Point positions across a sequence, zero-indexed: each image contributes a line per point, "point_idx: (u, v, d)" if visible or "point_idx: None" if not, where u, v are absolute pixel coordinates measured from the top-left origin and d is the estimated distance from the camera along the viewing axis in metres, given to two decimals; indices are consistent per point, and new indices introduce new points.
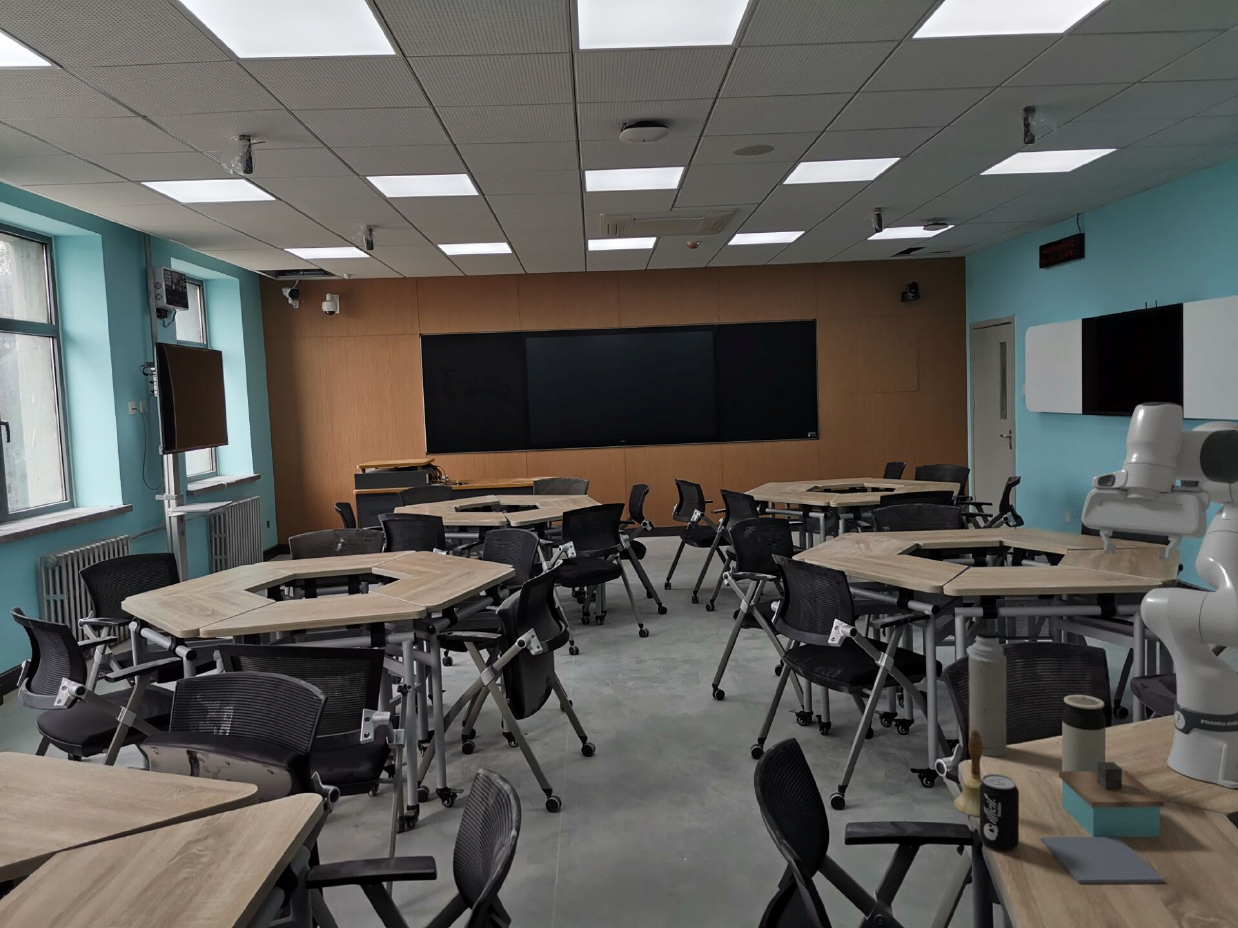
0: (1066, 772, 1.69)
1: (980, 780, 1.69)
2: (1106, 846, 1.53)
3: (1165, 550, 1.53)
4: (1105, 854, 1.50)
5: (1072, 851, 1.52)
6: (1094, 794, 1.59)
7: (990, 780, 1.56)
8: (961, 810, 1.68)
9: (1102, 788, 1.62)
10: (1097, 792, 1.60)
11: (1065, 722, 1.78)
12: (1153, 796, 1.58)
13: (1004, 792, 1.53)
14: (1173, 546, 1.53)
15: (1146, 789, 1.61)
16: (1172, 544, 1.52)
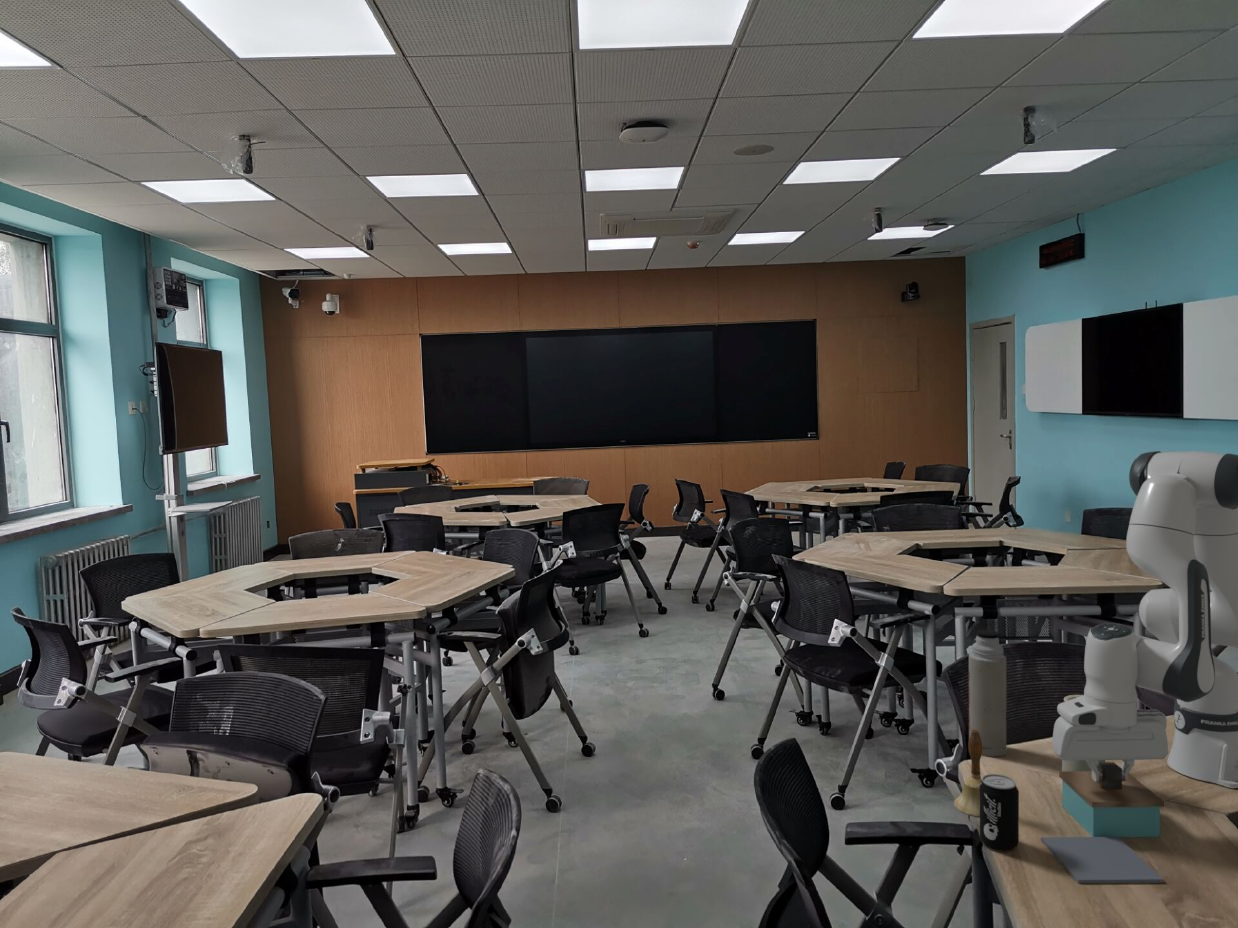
0: (1066, 772, 1.69)
1: (980, 780, 1.69)
2: (1106, 846, 1.53)
3: (1125, 774, 1.61)
4: (1105, 854, 1.50)
5: (1072, 851, 1.52)
6: (1094, 794, 1.59)
7: (990, 780, 1.56)
8: (961, 810, 1.68)
9: (1102, 788, 1.62)
10: (1097, 792, 1.60)
11: None
12: (1153, 796, 1.58)
13: (1004, 792, 1.53)
14: None
15: (1146, 789, 1.61)
16: (1130, 768, 1.61)
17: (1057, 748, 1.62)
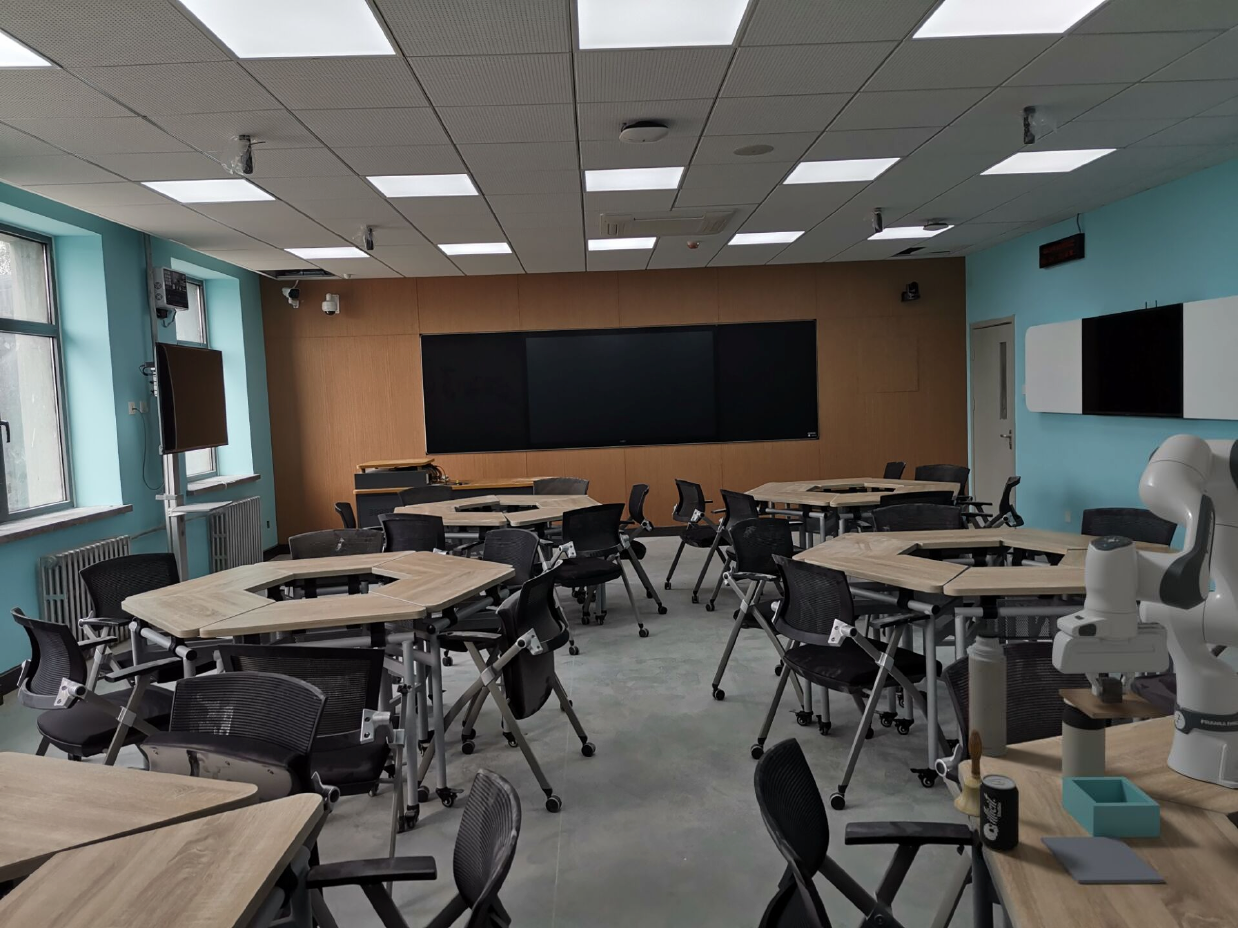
0: (1066, 689, 1.67)
1: (980, 780, 1.69)
2: (1106, 846, 1.53)
3: (1125, 687, 1.60)
4: (1105, 854, 1.50)
5: (1072, 851, 1.52)
6: (1094, 707, 1.58)
7: (990, 780, 1.56)
8: (961, 810, 1.68)
9: (1103, 702, 1.60)
10: (1097, 705, 1.59)
11: (1065, 722, 1.78)
12: (1154, 708, 1.56)
13: (1004, 792, 1.53)
14: None
15: (1147, 702, 1.59)
16: (1131, 681, 1.60)
17: (1057, 662, 1.61)
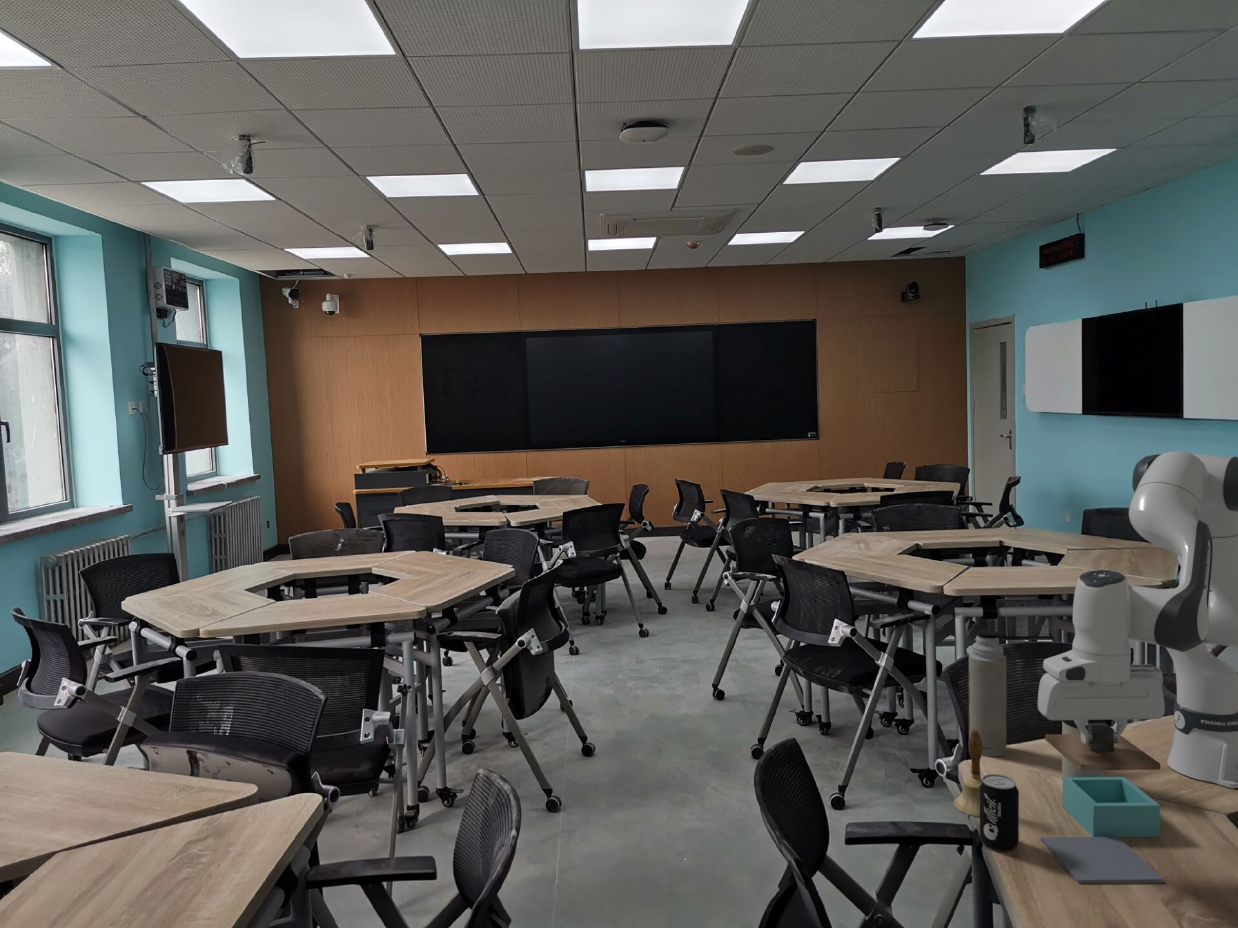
0: (1053, 735, 1.54)
1: (980, 780, 1.69)
2: (1106, 846, 1.53)
3: (1117, 735, 1.47)
4: (1105, 854, 1.50)
5: (1072, 851, 1.52)
6: (1083, 757, 1.45)
7: (990, 780, 1.56)
8: (961, 810, 1.68)
9: (1092, 751, 1.47)
10: (1086, 755, 1.45)
11: (1065, 722, 1.78)
12: (1148, 759, 1.43)
13: (1004, 792, 1.53)
14: None
15: (1140, 752, 1.46)
16: (1123, 728, 1.47)
17: (1043, 707, 1.48)
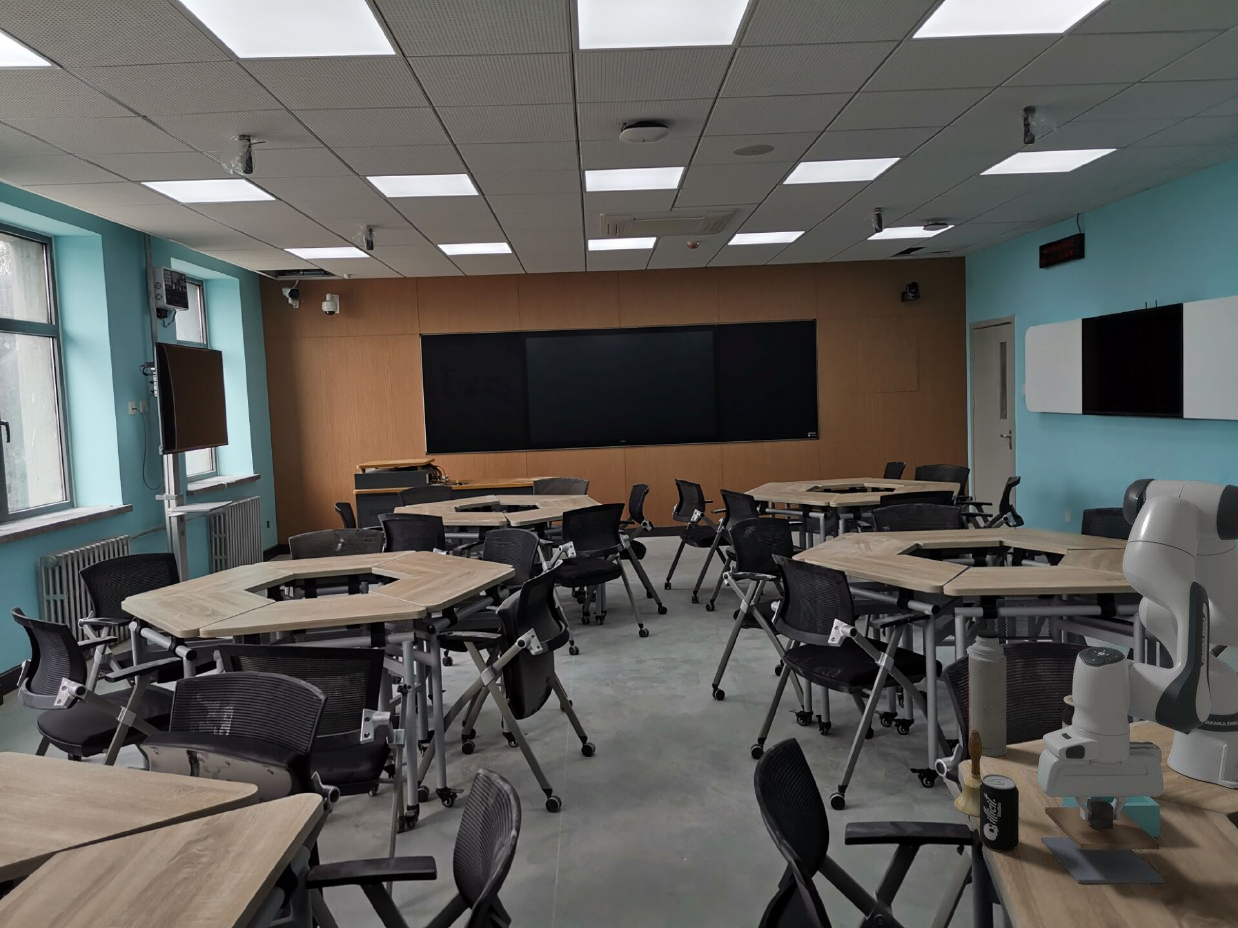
0: (1053, 808, 1.55)
1: (980, 780, 1.69)
2: None
3: (1116, 812, 1.48)
4: (1105, 854, 1.50)
5: (1072, 851, 1.52)
6: (1083, 834, 1.46)
7: (990, 780, 1.56)
8: (961, 810, 1.68)
9: (1092, 827, 1.48)
10: (1086, 832, 1.46)
11: (1065, 722, 1.78)
12: (1147, 837, 1.44)
13: (1004, 792, 1.53)
14: None
15: (1140, 829, 1.47)
16: (1122, 805, 1.48)
17: (1042, 783, 1.49)
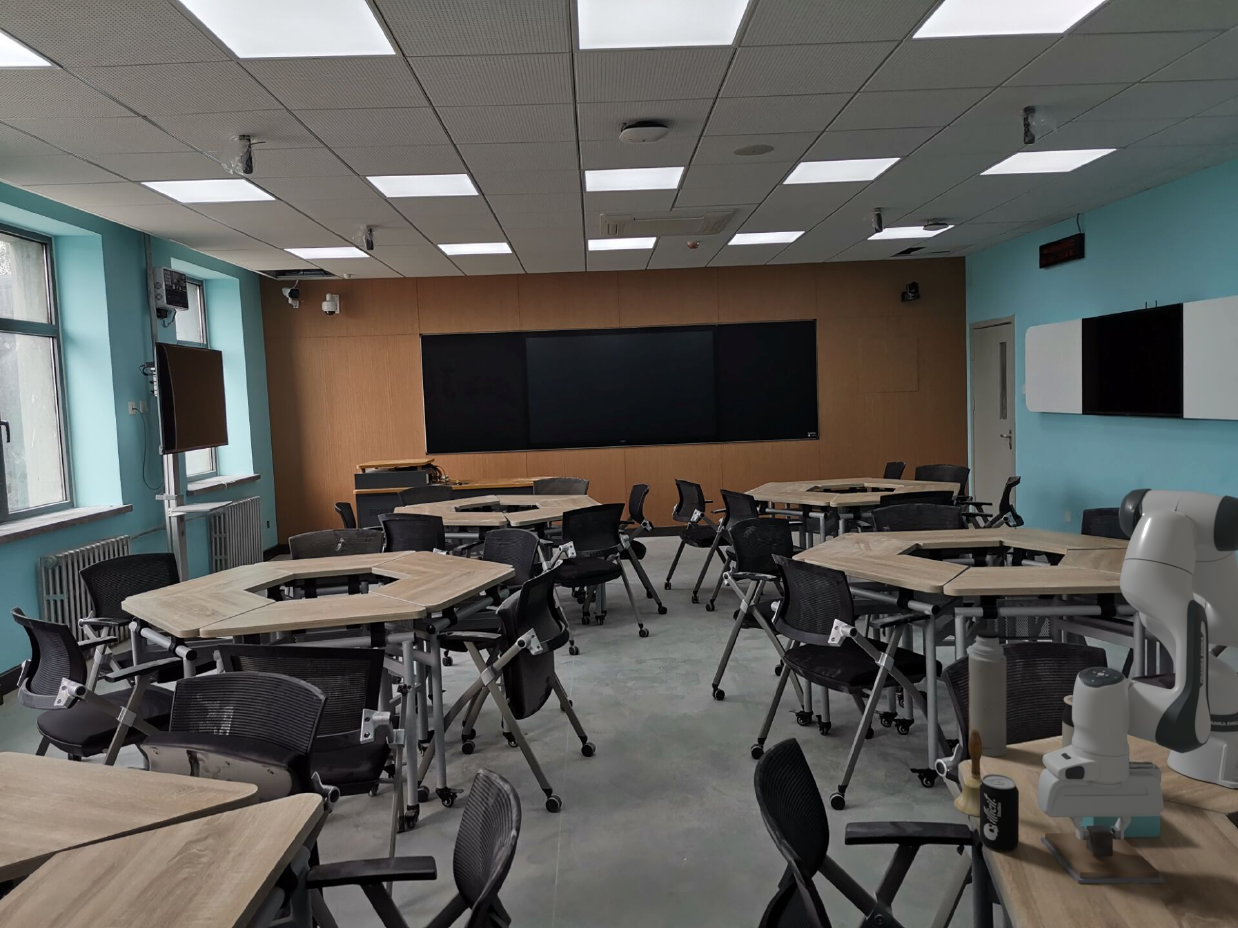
0: (1053, 834, 1.56)
1: (980, 780, 1.69)
2: None
3: (1120, 832, 1.48)
4: None
5: None
6: (1082, 862, 1.46)
7: (990, 780, 1.56)
8: (961, 810, 1.68)
9: (1091, 855, 1.49)
10: (1086, 860, 1.47)
11: (1065, 722, 1.78)
12: (1147, 865, 1.45)
13: (1004, 792, 1.53)
14: None
15: (1139, 856, 1.48)
16: (1127, 825, 1.48)
17: (1042, 803, 1.49)
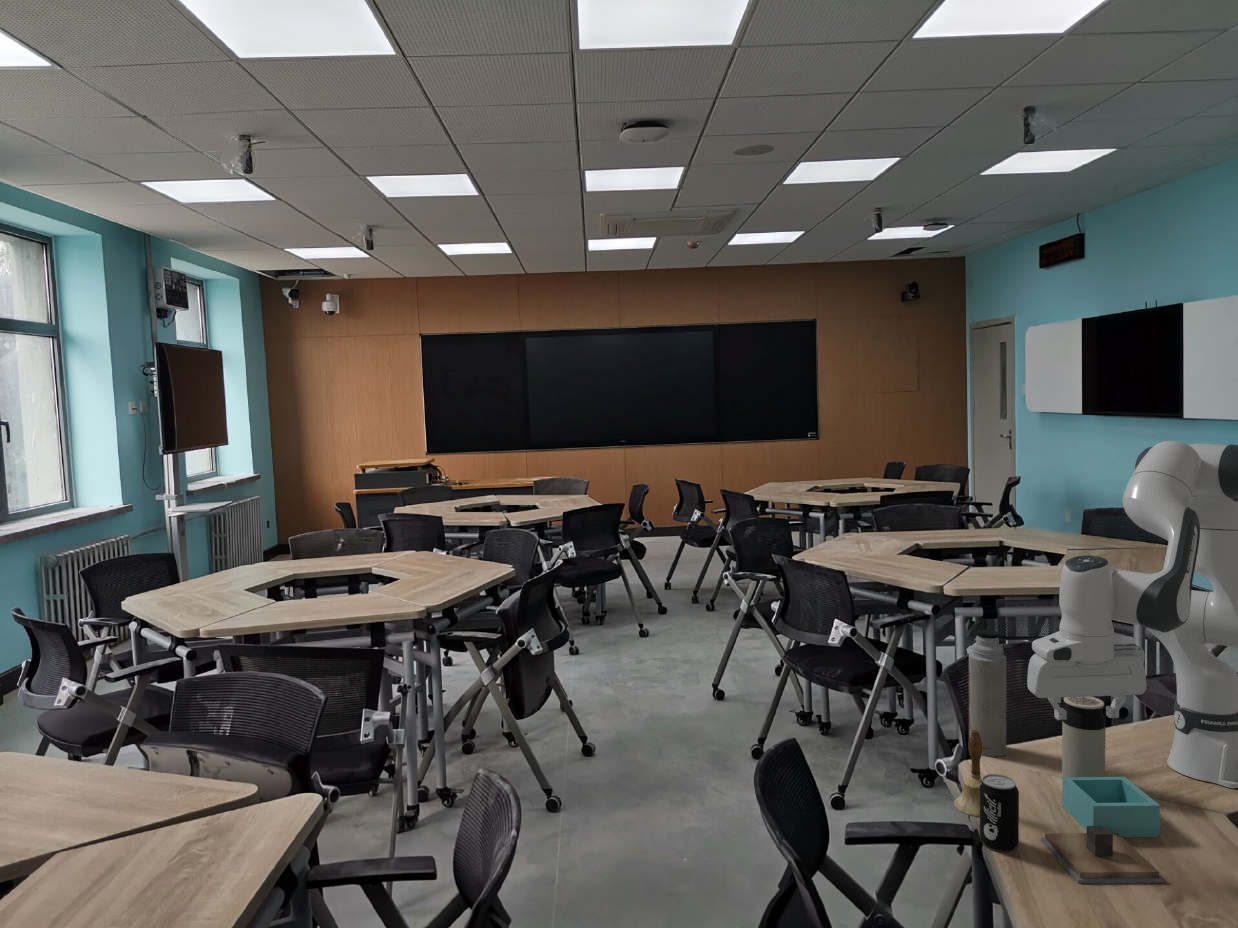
0: (1053, 834, 1.56)
1: (980, 780, 1.69)
2: None
3: (1116, 710, 1.56)
4: None
5: None
6: (1082, 862, 1.46)
7: (990, 780, 1.56)
8: (961, 810, 1.68)
9: (1091, 855, 1.49)
10: (1086, 860, 1.47)
11: (1065, 722, 1.78)
12: (1147, 865, 1.45)
13: (1004, 792, 1.53)
14: None
15: (1139, 856, 1.48)
16: (1122, 704, 1.55)
17: (1032, 686, 1.56)
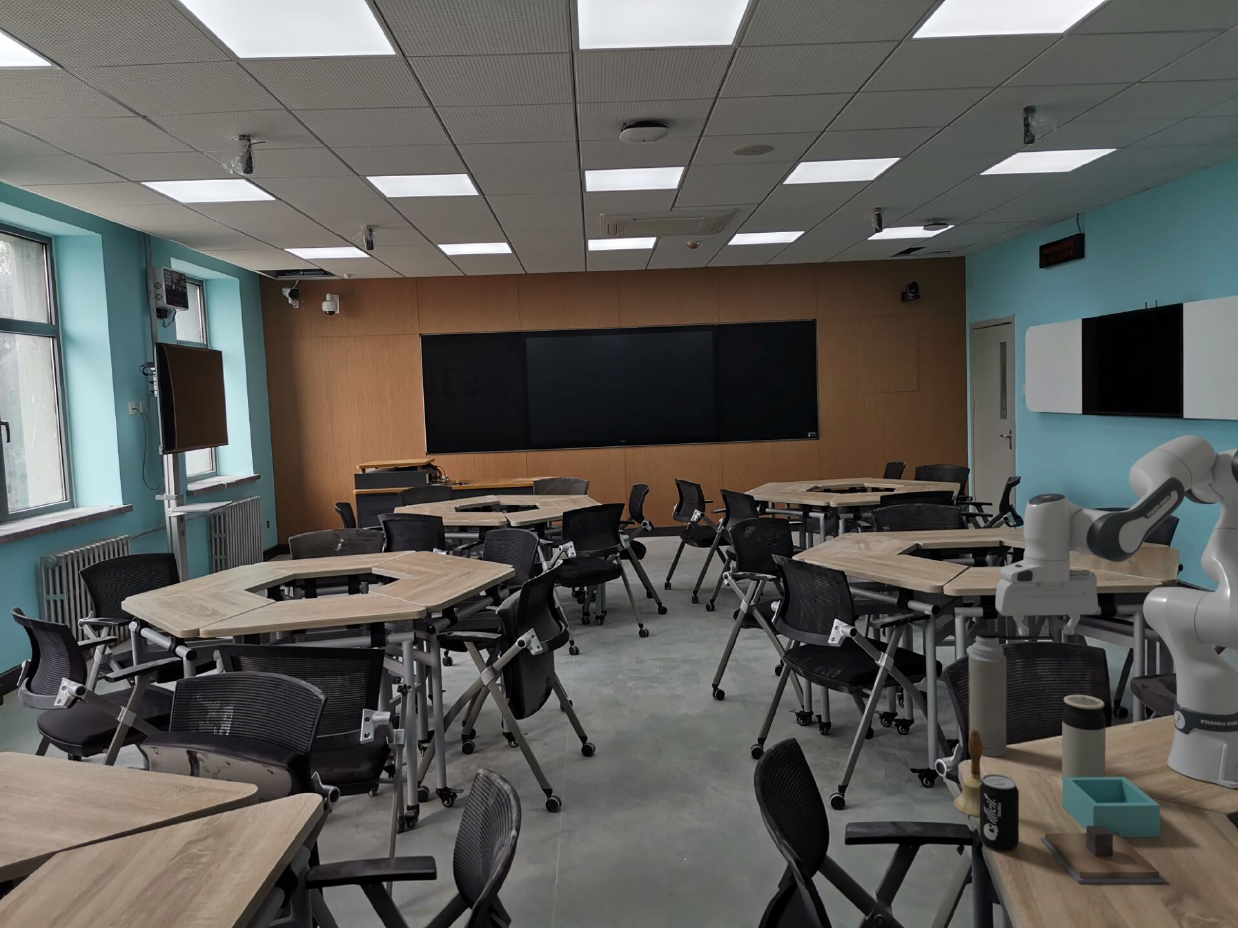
0: (1053, 834, 1.56)
1: (980, 780, 1.69)
2: None
3: (1071, 628, 1.80)
4: None
5: None
6: (1082, 862, 1.46)
7: (990, 780, 1.56)
8: (961, 810, 1.68)
9: (1091, 855, 1.49)
10: (1086, 860, 1.47)
11: (1065, 722, 1.78)
12: (1147, 865, 1.45)
13: (1004, 792, 1.53)
14: None
15: (1139, 856, 1.48)
16: (1076, 622, 1.79)
17: (999, 605, 1.81)
